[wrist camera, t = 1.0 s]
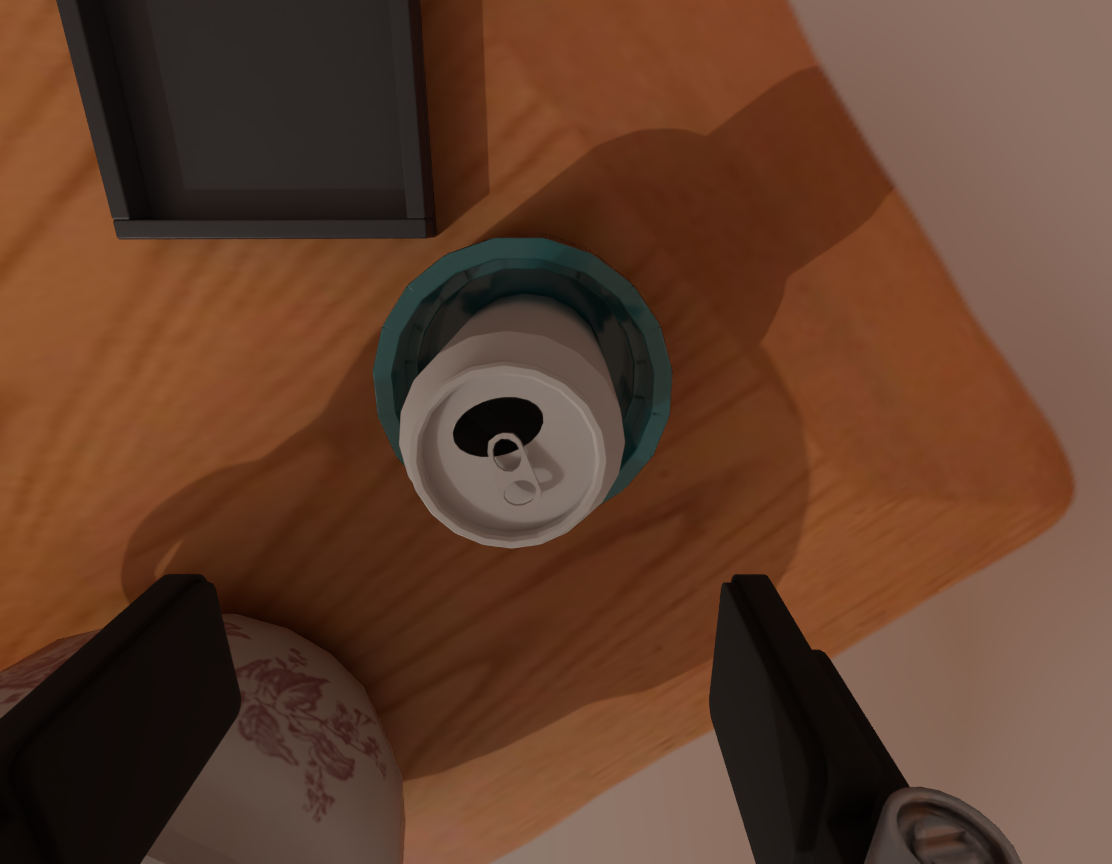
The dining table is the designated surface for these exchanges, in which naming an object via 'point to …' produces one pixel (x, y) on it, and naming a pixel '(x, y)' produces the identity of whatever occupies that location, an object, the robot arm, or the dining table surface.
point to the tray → (256, 116)
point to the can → (514, 425)
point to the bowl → (544, 270)
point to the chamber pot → (275, 760)
